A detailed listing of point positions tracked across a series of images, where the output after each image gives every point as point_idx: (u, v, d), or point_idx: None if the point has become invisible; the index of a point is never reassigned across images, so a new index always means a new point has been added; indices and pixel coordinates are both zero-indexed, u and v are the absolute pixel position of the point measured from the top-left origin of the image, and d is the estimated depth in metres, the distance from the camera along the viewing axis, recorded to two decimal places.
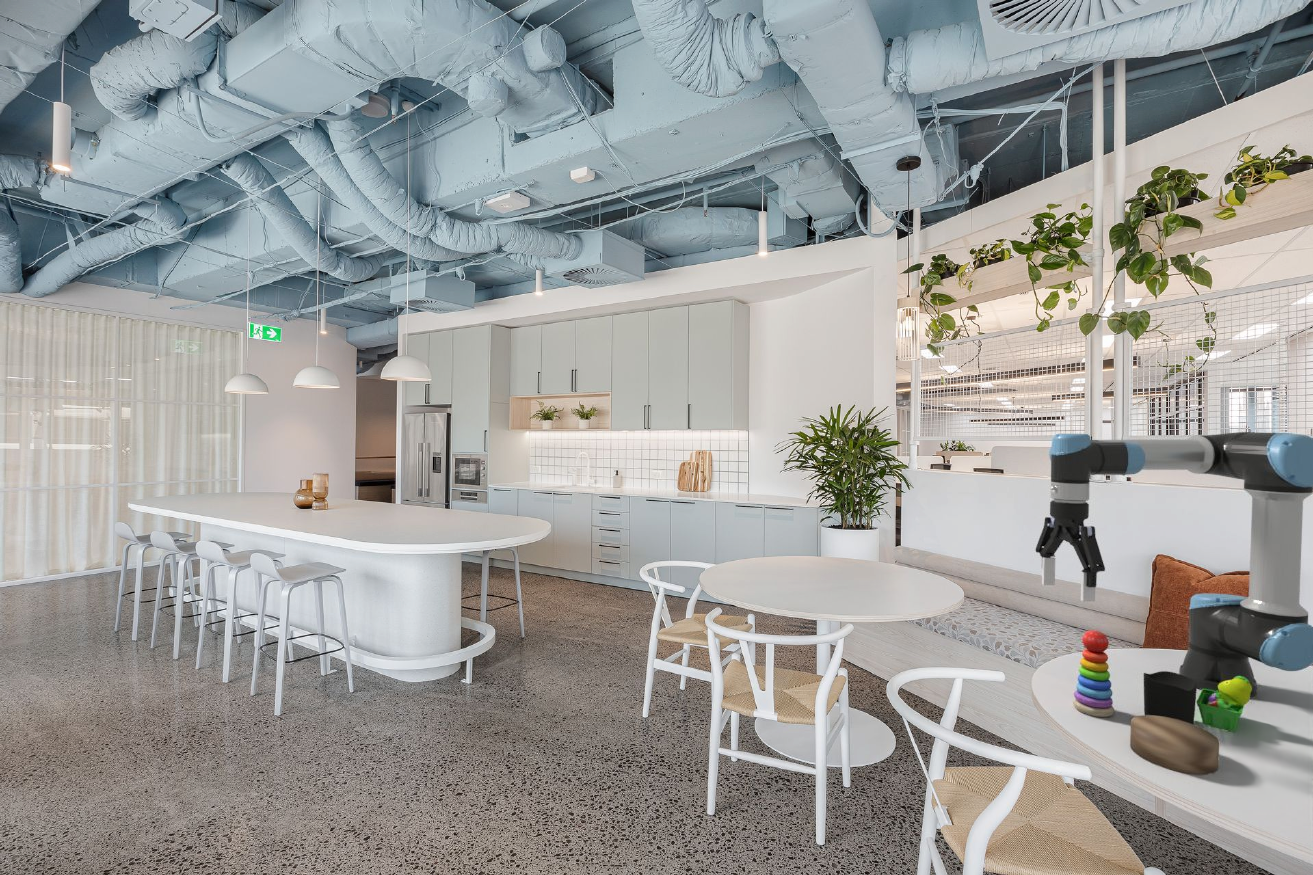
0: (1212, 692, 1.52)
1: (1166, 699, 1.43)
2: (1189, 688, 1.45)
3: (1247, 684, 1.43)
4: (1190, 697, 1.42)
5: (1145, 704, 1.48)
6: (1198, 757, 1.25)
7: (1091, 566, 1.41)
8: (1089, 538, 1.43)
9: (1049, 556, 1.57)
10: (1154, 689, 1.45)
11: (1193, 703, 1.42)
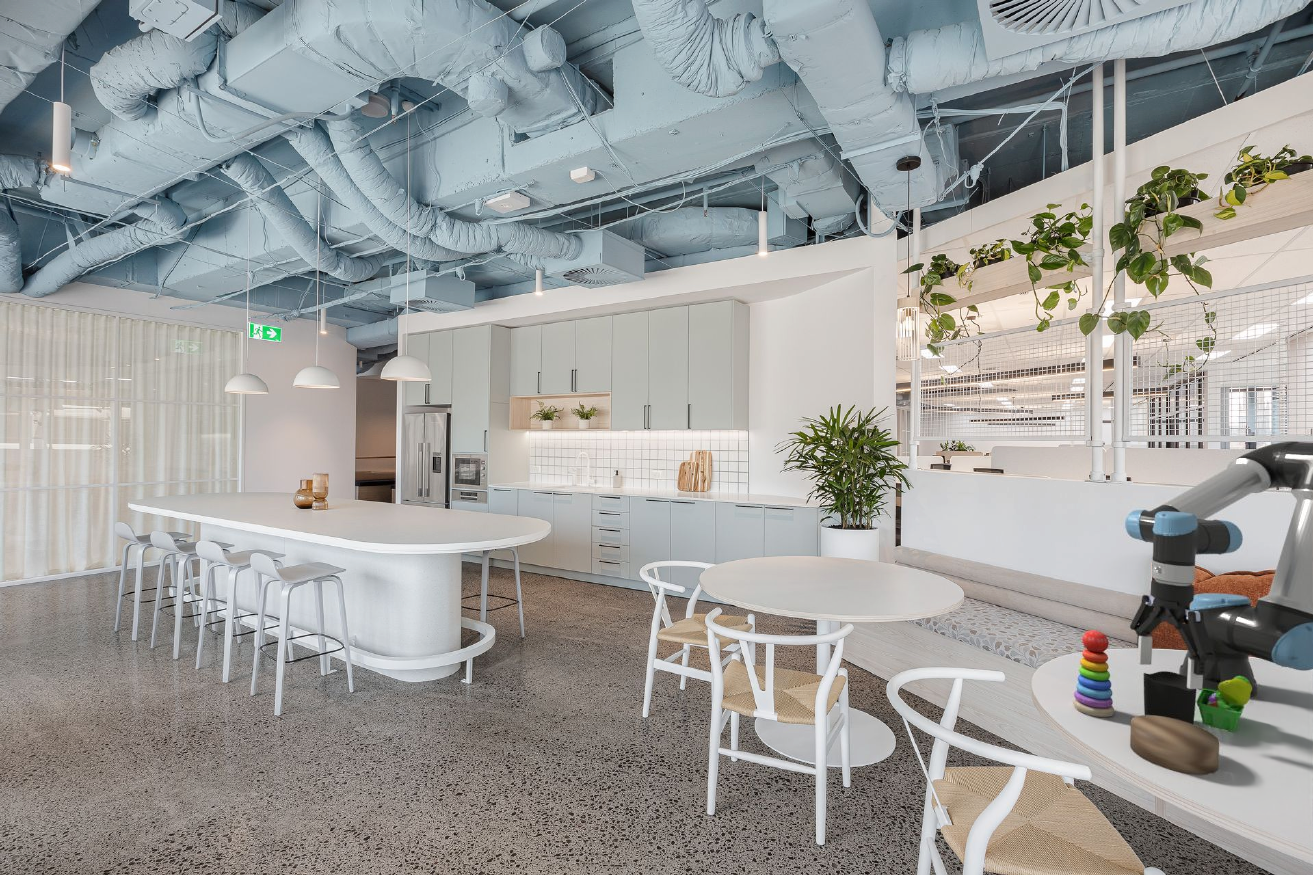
0: (1212, 692, 1.52)
1: (1166, 699, 1.43)
2: None
3: (1247, 684, 1.43)
4: (1190, 697, 1.42)
5: (1145, 704, 1.48)
6: (1198, 757, 1.25)
7: (1201, 654, 1.37)
8: (1197, 624, 1.39)
9: (1146, 634, 1.53)
10: (1154, 689, 1.45)
11: (1193, 703, 1.42)
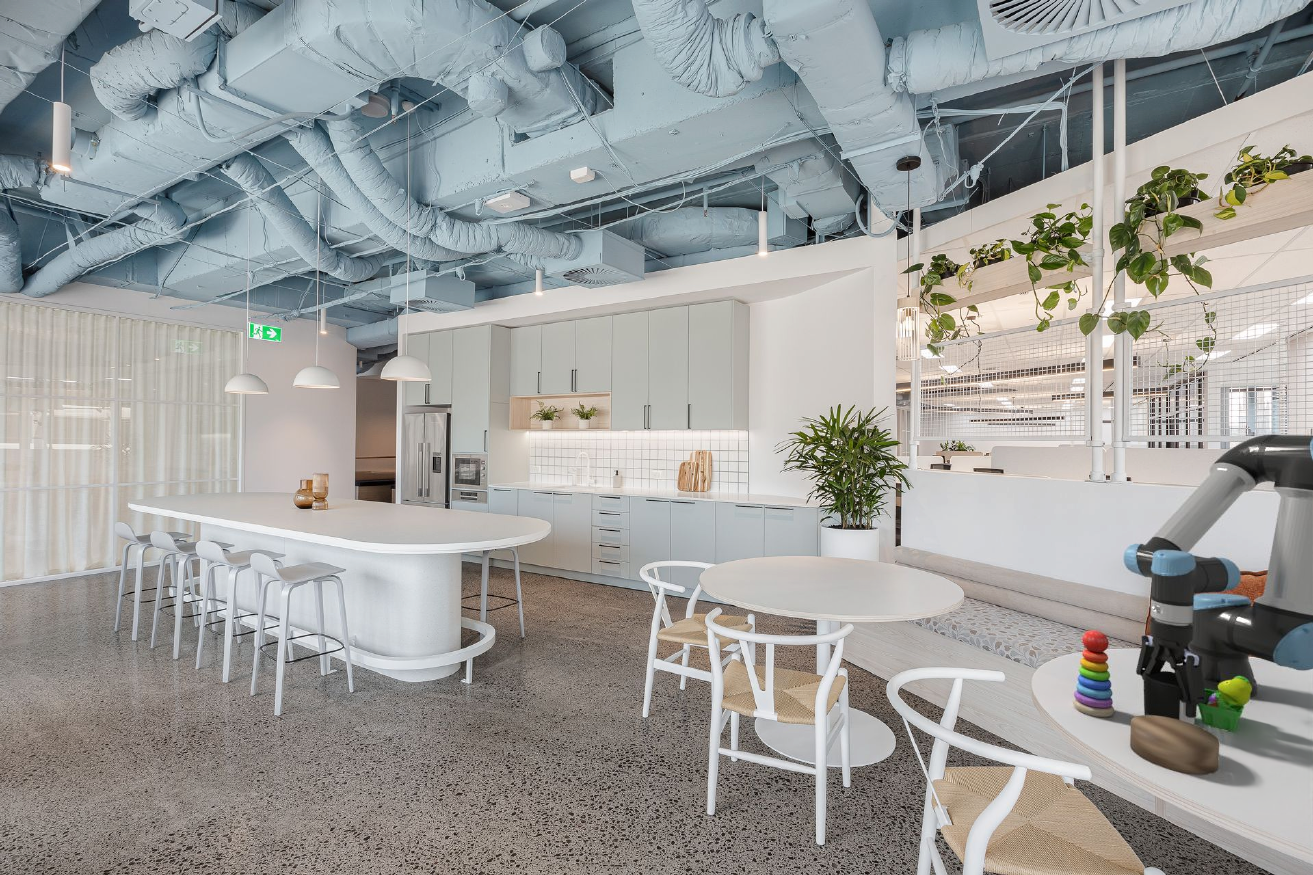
0: (1212, 692, 1.52)
1: (1166, 699, 1.43)
2: None
3: (1247, 684, 1.43)
4: None
5: (1145, 704, 1.48)
6: (1198, 757, 1.25)
7: (1192, 697, 1.39)
8: (1195, 668, 1.39)
9: None
10: (1154, 689, 1.45)
11: None
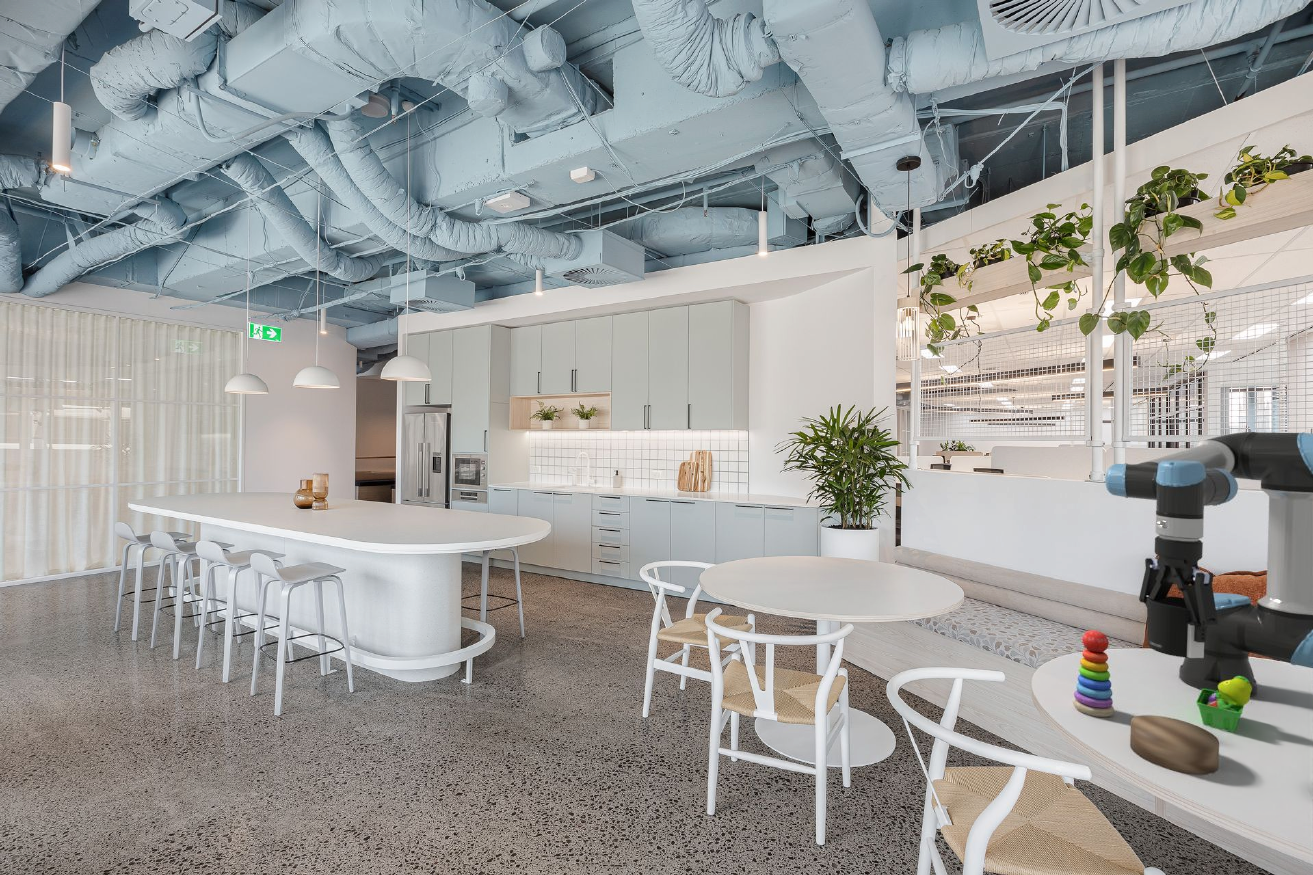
0: (1212, 692, 1.52)
1: (1172, 623, 1.28)
2: None
3: (1247, 684, 1.43)
4: None
5: (1148, 631, 1.33)
6: (1198, 757, 1.25)
7: (1202, 619, 1.24)
8: (1205, 587, 1.25)
9: None
10: (1159, 613, 1.30)
11: None
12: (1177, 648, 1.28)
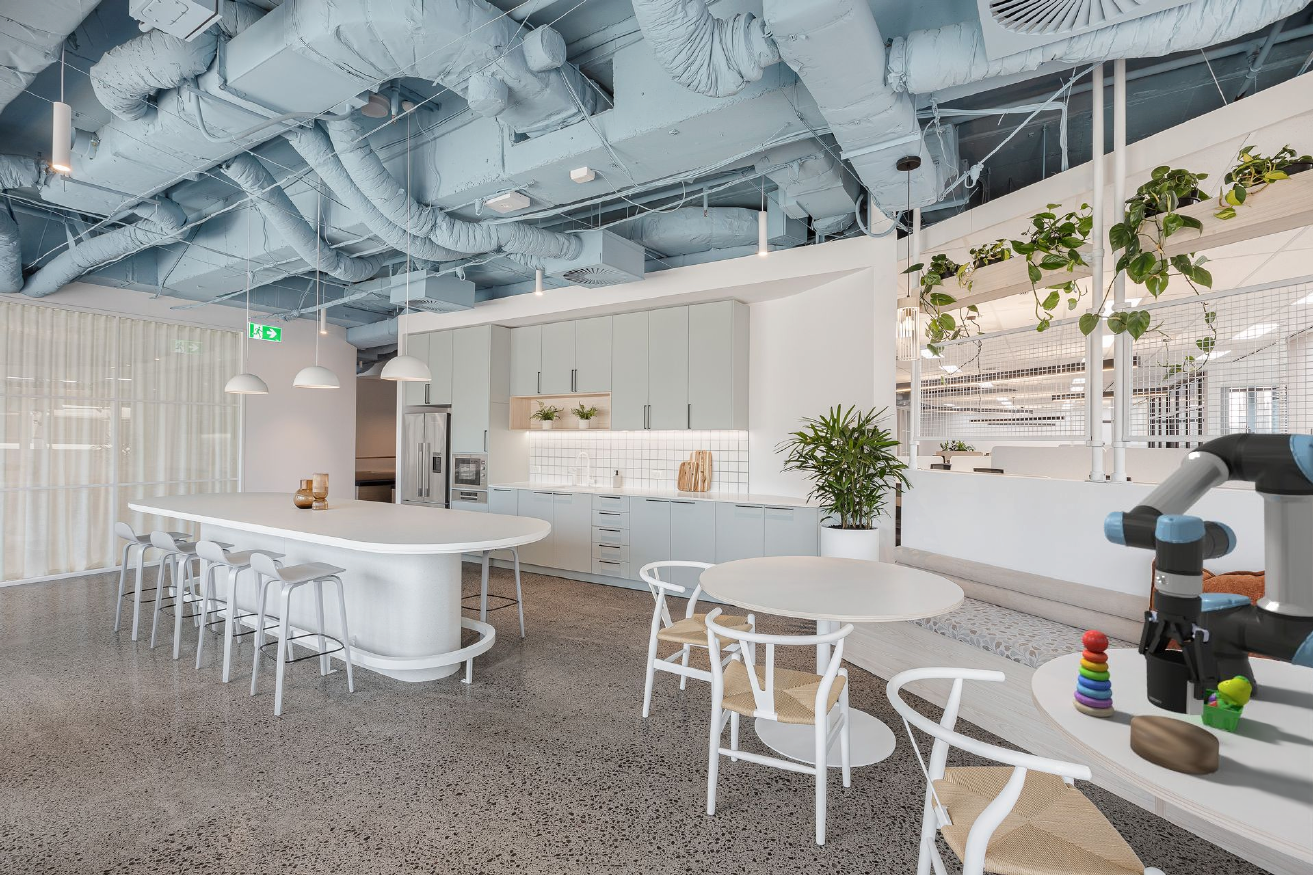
0: (1212, 692, 1.52)
1: (1172, 679, 1.28)
2: None
3: (1247, 684, 1.43)
4: None
5: (1148, 686, 1.33)
6: (1198, 757, 1.25)
7: (1201, 677, 1.24)
8: (1204, 645, 1.25)
9: None
10: (1158, 668, 1.30)
11: None
12: (1176, 705, 1.28)
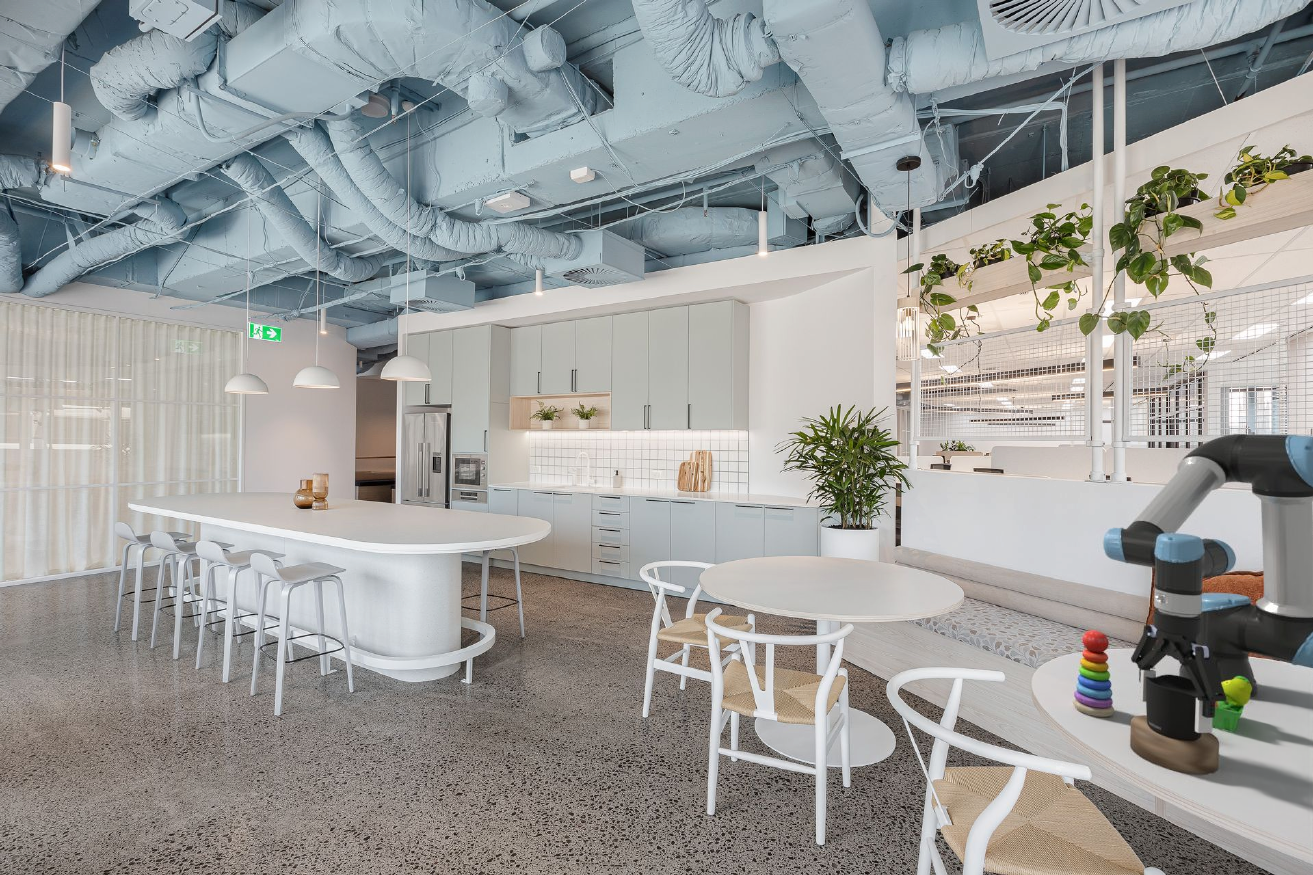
0: None
1: (1171, 706, 1.29)
2: (1196, 693, 1.30)
3: (1247, 684, 1.43)
4: None
5: (1148, 711, 1.33)
6: (1198, 757, 1.25)
7: (1210, 695, 1.22)
8: (1206, 661, 1.24)
9: (1148, 668, 1.39)
10: (1158, 695, 1.30)
11: None
12: (1176, 731, 1.28)
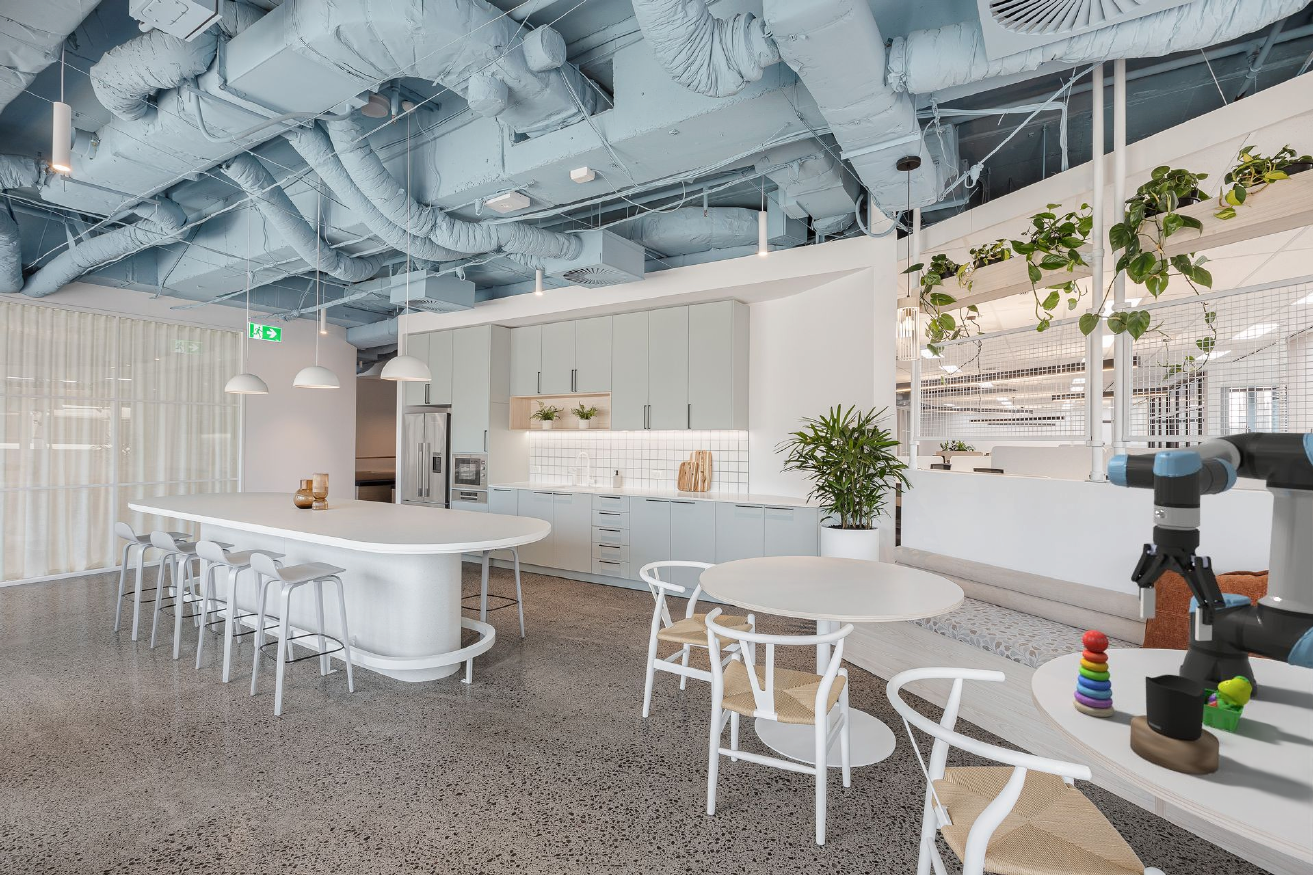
0: (1212, 692, 1.52)
1: (1171, 705, 1.29)
2: (1196, 693, 1.30)
3: (1247, 684, 1.43)
4: (1197, 703, 1.27)
5: (1147, 711, 1.33)
6: (1198, 757, 1.25)
7: (1210, 602, 1.25)
8: (1205, 570, 1.27)
9: (1148, 586, 1.42)
10: (1157, 694, 1.30)
11: (1201, 710, 1.28)
12: (1176, 731, 1.28)
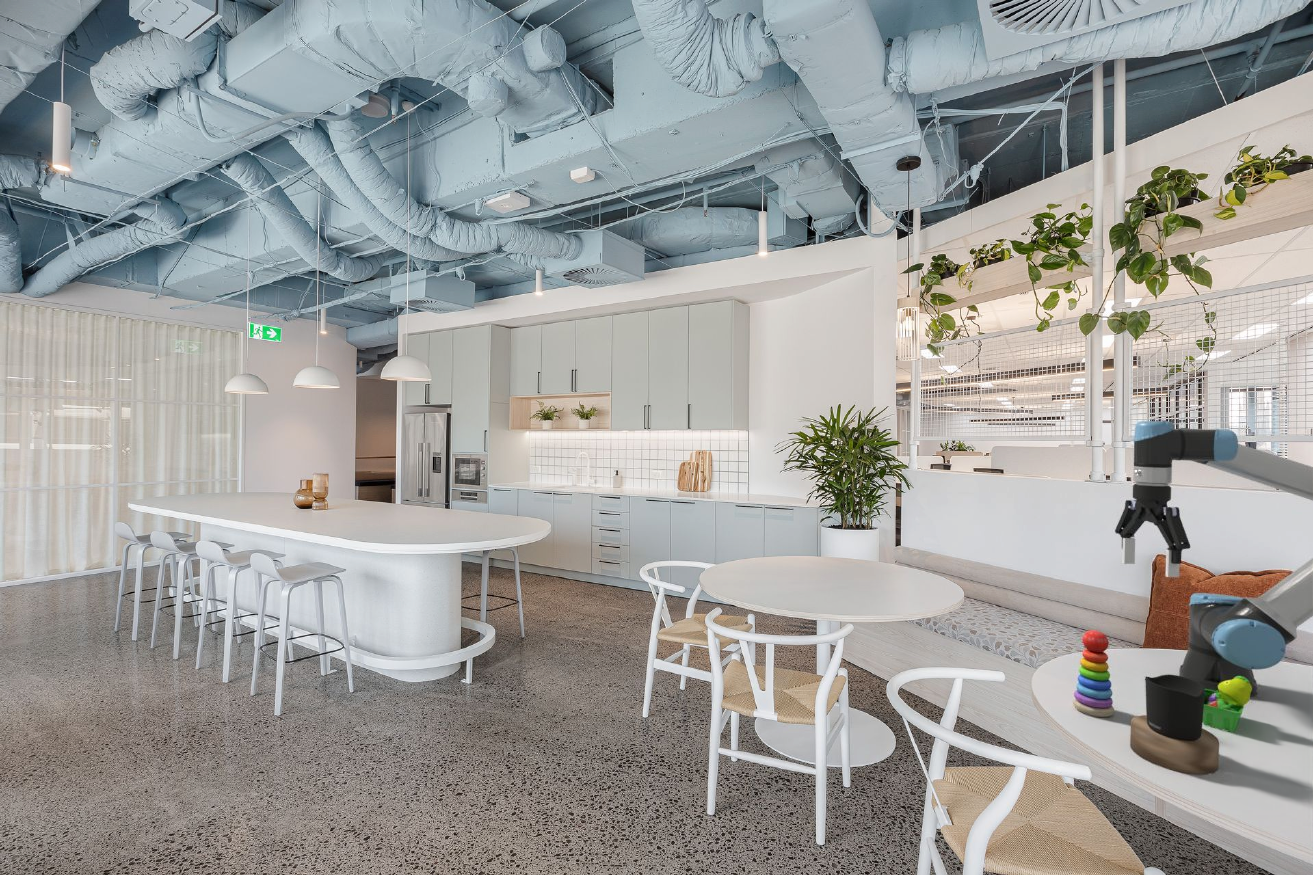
0: (1212, 692, 1.52)
1: (1171, 705, 1.29)
2: (1196, 693, 1.30)
3: (1247, 684, 1.43)
4: (1197, 703, 1.27)
5: (1147, 711, 1.33)
6: (1198, 757, 1.25)
7: (1177, 544, 1.51)
8: (1174, 518, 1.53)
9: (1129, 537, 1.68)
10: (1157, 694, 1.30)
11: (1201, 710, 1.28)
12: (1175, 731, 1.28)
